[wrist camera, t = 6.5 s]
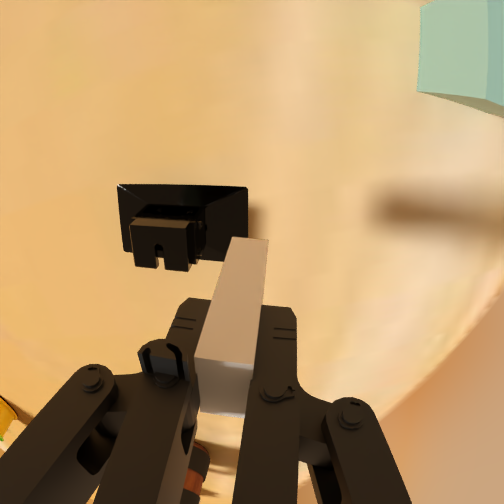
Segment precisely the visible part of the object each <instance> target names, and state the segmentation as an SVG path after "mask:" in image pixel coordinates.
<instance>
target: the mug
mask: <svg viewBox="0 0 504 504" xmlns="http://www.w3.org/2000/svg"><path fill="white" fill-rule="evenodd" d="M209 463H210V457H209V455H208V452H207V450H206V449H205V448H204V447H202V446H201V445H199V444H198V443H195V442H194V444H193V448H192V452H191V456H190V461H189V465H188V469H187V474H186V478H185V482H184V487H183V491H182V495H181V500H180V504H199V501H200V497H199V495H200V491H201V487H202V483H203V482H204V481H205V478H206V475H207V472H208V468H209Z"/></svg>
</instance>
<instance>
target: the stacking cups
mask: <svg viewBox="0 0 504 504" xmlns="http://www.w3.org/2000/svg"><path fill="white" fill-rule="evenodd" d="M13 419H14V420H17V415H16V413H15V412H14V411H13V409H12V408H11V407H10V406H9V405H8V404H7V403H6V402H5V401H3V400H2V399H1V398H0V441H4V439H3V436H4V434H5V432H6V431H7V429H8V427H9V426H10V424H11V422H12V421H13Z"/></svg>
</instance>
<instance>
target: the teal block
mask: <svg viewBox="0 0 504 504" xmlns="http://www.w3.org/2000/svg"><path fill="white" fill-rule="evenodd" d="M417 91H418V92H422V93H426V94H430V95H433V96H437V97H440V98H444V99H447V100H450V101H454V102H457V103H460V104H463V105H466V106H469V107H472V108H475V109H478V110H481V111H484V112H486V113H489V114H493V115H497V116H501V117H504V0H434V1H432V2H430V3H428V4H426V5H424V6H422V7H421V8H420V52H419V69H418V82H417Z"/></svg>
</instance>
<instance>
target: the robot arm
mask: <svg viewBox="0 0 504 504" xmlns="http://www.w3.org/2000/svg"><path fill="white" fill-rule="evenodd" d="M268 241H269V240H262V239H252V238H241V237H232V239H231V242H230V245H229V248H228V251H227V254H226V257H225V260H224V263H223V266H222V270H221V273H220V276H219V279H218V282H217V285H216V288H215V291H214V294H213V297H212V300H205V299H197V298H188V299H187V300H186V301H184V302H183V303H182V304H181V305H180V306H179V308H178V310H177V313H176V315H175V319H174V320H173V322H172V324H171V327H170V329H169V331H168V334H167V336H166V339H157V340H153V341H150V342H148V343H147V344H145V345H143V346H142V347H141V349H140V350H139V351H138V352H137V353H138V357H139V360H140V364H141V367H142V371H143V372H140V373H136V374H126V375H113V374H112V372H111V370H109V369H108V368H107V367H106V366H103V365H99V364H89V365H86V366H84V367H81V368H80V369H79V370H77V371H76V372H75V373H74V374H73V375H72V376H71V377H70V379H69V380H68V381H67V382H66V383H65V384H64V385H63V386H62V387H61V388H60V390H59V391H58V392H57V393H56V394H55V395H54V396H53V397H52V399H51V400H50V401H49V402H48V403H47V404H46V405H45V406H44V408H43V409H42V410H41V411H40V412H39V413H38V414H37V415H36V417H35V418H34V419H33V420H32V421H31V422H30V424H29V425H28V426H27V427H26V428H25V429H24V430H23V432H22V433H21V434H20V435H19V436H18V438H17V439H16V440H15V441H14V442H13V443H12V445H11V446H10V447H9V448H8V449H7V451H6V452H5V453H4V454H3V455H2V457H1V458H0V504H86V502H87V501H88V500H89V498H90V497H91V496H92V494H93V493H94V491H95V490H96V488H97V487H98V486H99V488H98V491H97V493H96V496H95V499H94V502H93V504H180V500H181V495H182V491H183V487H184V482H185V478H186V474H187V469H188V465H189V461H190V456H191V452H192V448H193V444H194V439H195V435H196V431H197V414H198V410H199V406H200V412H203V413H209V414H216V415H223V416H230V417H238V418H244V425H243V432H242V439H241V446H240V453H239V460H238V467H237V473H236V480H235V487H234V493H233V500H232V504H297V489H298V463H299V461H302V462H305V463H307V466H308V470H309V473H310V477H311V481H312V484H313V488H314V492H315V495H316V499H317V503H318V504H412V502H411V500H410V497H409V495H408V492H407V490H406V487H405V485H404V482H403V480H402V477H401V475H400V472H399V470H398V467H397V465H396V463H395V460H394V458H393V455H392V453H391V451H390V448H389V446H388V444H387V441H386V439H385V437H384V434H383V432H382V430H381V427H380V425H379V423H378V420H377V418H376V416H375V413H374V412H373V410H372V409H371V407H370V406H369V405H368V404H367V403H365V402H364V401H362V400H360V399H357V398H353V397H344V398H341V399H338V400H335V401H334V402H333V403H330V402H327V401H324V400H320V399H317V398H315V397H313V396H311V395H309V394H308V393H307V392H305V391H304V390H303V389H302V387H301V386H300V384H299V382H298V379H297V332H296V331H297V318H296V316H295V315H294V313H293V311H292V310H291V308H289V307H278V306H268V305H262V303H263V294H264V284H265V273H266V263H267V252H268ZM99 484H100V485H99Z"/></svg>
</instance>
